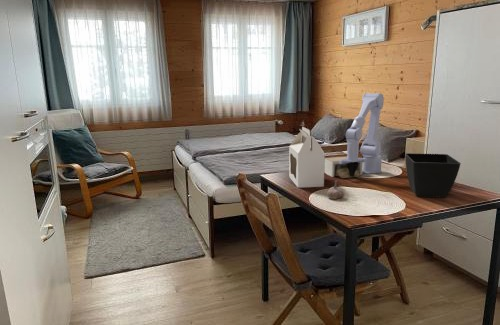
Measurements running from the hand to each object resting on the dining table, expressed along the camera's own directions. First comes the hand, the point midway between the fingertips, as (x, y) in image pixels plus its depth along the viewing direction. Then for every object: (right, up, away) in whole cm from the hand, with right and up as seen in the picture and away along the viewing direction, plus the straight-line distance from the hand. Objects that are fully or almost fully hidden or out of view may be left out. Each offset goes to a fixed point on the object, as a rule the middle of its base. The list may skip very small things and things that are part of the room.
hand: (351, 176), depth 203 cm
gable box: (-25, -3, -5) cm, 26 cm away
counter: (-2, +1, +10) cm, 10 cm away
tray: (-1, 0, +7) cm, 7 cm away
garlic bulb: (-16, -9, -33) cm, 38 cm away
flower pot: (+27, -7, -29) cm, 41 cm away
